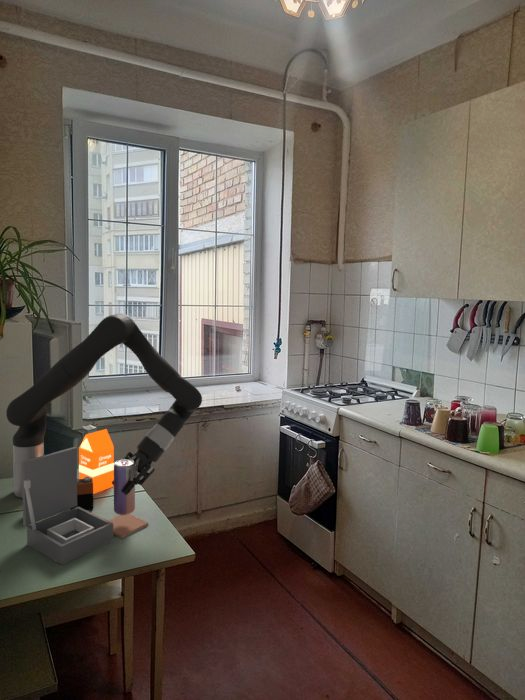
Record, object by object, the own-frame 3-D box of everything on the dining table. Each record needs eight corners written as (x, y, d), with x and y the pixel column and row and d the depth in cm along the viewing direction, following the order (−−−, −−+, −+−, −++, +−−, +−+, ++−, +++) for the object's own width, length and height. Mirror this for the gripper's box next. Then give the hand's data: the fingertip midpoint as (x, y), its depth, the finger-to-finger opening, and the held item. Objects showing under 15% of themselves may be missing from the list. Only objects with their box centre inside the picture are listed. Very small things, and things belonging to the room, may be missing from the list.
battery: (93, 510, 158) (93, 479, 157) (70, 513, 156) (70, 482, 154) (92, 504, 162) (92, 474, 161) (70, 506, 160) (69, 476, 158)
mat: (99, 527, 148) (99, 524, 148) (126, 515, 156) (126, 512, 156) (121, 538, 142) (121, 535, 142) (148, 525, 150) (148, 522, 150)
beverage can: (115, 517, 145) (115, 467, 142) (112, 508, 150) (112, 460, 148) (136, 514, 147) (136, 465, 145) (133, 505, 152) (133, 457, 150)
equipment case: (23, 542, 138) (20, 461, 135) (75, 520, 151) (74, 446, 148) (61, 565, 128) (59, 479, 125) (113, 540, 141) (113, 461, 138)
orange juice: (78, 488, 174) (78, 432, 171) (100, 480, 181) (99, 426, 178) (93, 494, 169) (92, 437, 167) (114, 486, 177) (114, 431, 174)
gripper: (137, 429, 156) (100, 474, 150) (159, 442, 145) (120, 491, 139) (152, 442, 160) (117, 487, 154) (175, 456, 149) (138, 504, 143)
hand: (118, 489), depth 146 cm, fingers closed on beverage can, 6 cm apart
